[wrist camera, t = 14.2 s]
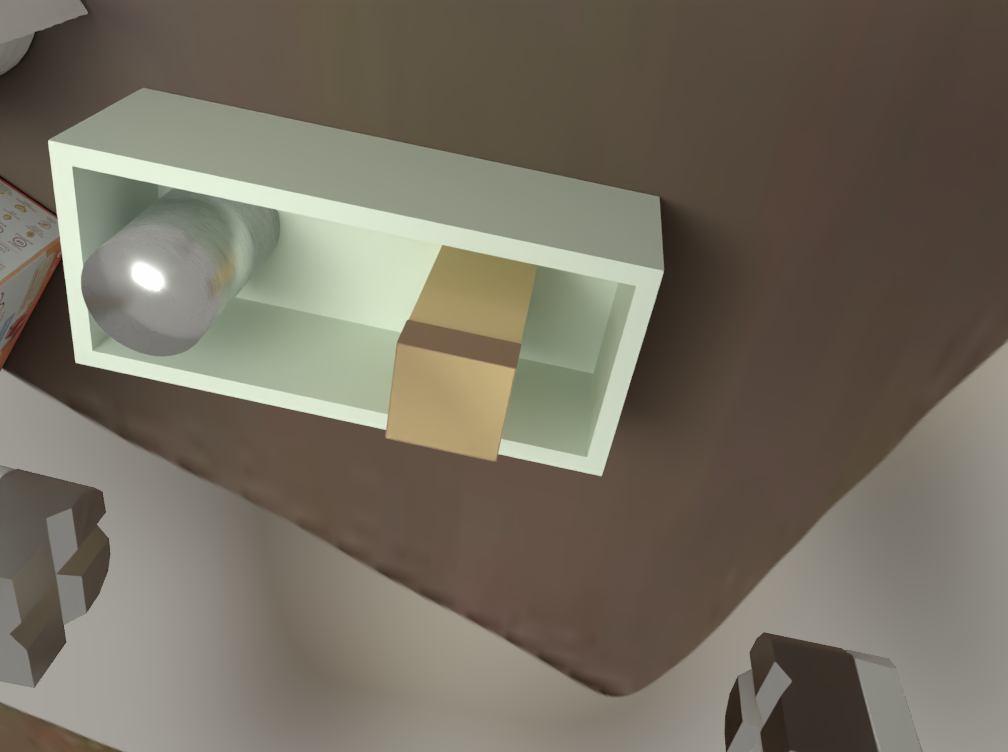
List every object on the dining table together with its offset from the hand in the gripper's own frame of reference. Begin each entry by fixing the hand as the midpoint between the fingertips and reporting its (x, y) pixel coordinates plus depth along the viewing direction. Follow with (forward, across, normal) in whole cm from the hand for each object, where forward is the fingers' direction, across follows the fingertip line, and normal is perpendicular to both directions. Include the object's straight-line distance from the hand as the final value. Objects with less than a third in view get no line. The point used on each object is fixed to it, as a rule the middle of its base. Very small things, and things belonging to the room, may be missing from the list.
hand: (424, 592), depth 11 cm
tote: (+37, +8, +14) cm, 40 cm away
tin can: (+36, +17, +14) cm, 42 cm away
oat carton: (+36, +2, +14) cm, 39 cm away
